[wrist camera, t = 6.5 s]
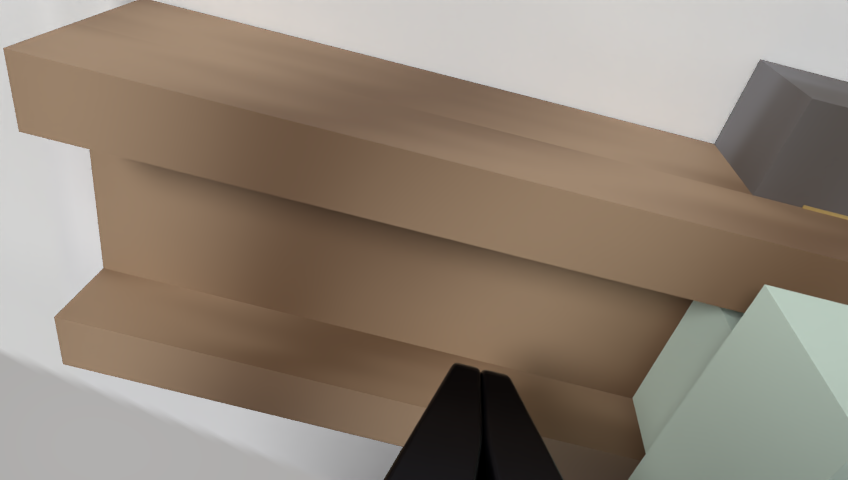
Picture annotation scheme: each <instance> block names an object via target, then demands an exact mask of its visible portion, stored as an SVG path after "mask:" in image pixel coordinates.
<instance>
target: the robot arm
mask: <svg viewBox="0 0 848 480" xmlns="http://www.w3.org/2000/svg"><path fill="white" fill-rule="evenodd" d="M384 480H564V479H563V477H562V476H561V474H560V472H559V470H558V468H557V466H556V464H555V462H554V460H553V458H552V456H551V454H550V453H549V451H548V449H547V447H546V445H545V443H544V441H543V439H542V437H541V435H540V433H539V432H538V430H537V428H536V426H535V424H534V422H533V420H532V418H531V416H530V414H529V412H528V411H527V409H526V407H525V405H524V403H523V401H522V399H521V397H520V395H519V393H518V391H517V389H516V388H515V386H514V384H513V382H512V380H511V378H510V377H509V376H508V375H506V374H502V373H498V372H494V371H490V370H482V371H481V372H480V370H479V369H478V368H477V367H473V366H469V365H465V364H461V363H454V364H453V365H452V366H451V368H450V369H449V371H448V373H447V374H446V376H445V378H444V379H443V381H442V383H441V384H440V386H439V388H438V389H437V391H436V393H435V394H434V396H433V398H432V399H431V401H430V403H429V404H428V406H427V408H426V410H425V411H424V413H423V415H422V416H421V418H420V420H419V421H418V423H417V425H416V426H415V428H414V430H413V431H412V433H411V435H410V436H409V438H408V440H407V441H406V443H405V445H404V446H403V448H402V450H401V451H400V453H399V455H398V456H397V458H396V460H395V462H394V463H393V465H392V467H391V468H390V470H389V472H388V473H387V475H386V477H385V478H384Z"/></svg>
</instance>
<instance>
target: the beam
mask: <svg viewBox="0 0 848 480" xmlns="http://www.w3.org/2000/svg"><path fill="white" fill-rule="evenodd" d="M3 49H4V55H5V60H6V65H7V70H8V76H9V81H10V86H11V92H12V97H13V102H14V107H15V113H16V118H17V123H18V129H19V132H23V133H27V134H31V135H35V136H39V137H43V138H47V139H51V140H55V141H59V142H63V143H67V144H71V145H75V146H79V147H83V148H87V149H90V157H91V166H92V174H93V183H94V191H95V199H96V208H97V216H98V225H99V233H100V242H101V250H102V259H103V267H104V268H103V269H102V270H101V271H100V272H99V273H98V274H97V275H96V276H95V277H94V278H93V279H92V280H91V281H90V282H89V283H88V284H87V285H86V286H85V287H84V288H83V289H82V290H81V291H80V292H79V293H78V294H77V295H76V296H75V297H74V298H73V299H72V300H71V301H70V302H69V303H68V304H67V305H66V306H65V307H64V308H63V309H62V310H61V311H60V312H59V313H58V314H57V315H56V316H55V317H54V319H55V324H56V329H57V334H58V340H59V345H60V350H61V356H62V361H63V364H65V365H69V366H73V367H78V368H82V369H86V370H90V371H94V372H98V373H102V374H106V375H110V376H115V377H119V378H123V379H127V380H131V381H135V382H139V383H143V384H147V385H152V386H156V387H160V388H164V389H168V390H172V391H176V392H180V393H184V394H189V395H193V396H197V397H201V398H205V399H209V400H213V401H217V402H221V403H225V404H230V405H234V406H238V407H242V408H246V409H250V410H254V411H258V412H262V413H267V414H271V415H275V416H279V417H283V418H287V419H291V420H295V421H299V422H304V423H308V424H312V425H316V426H320V427H324V428H328V429H332V430H336V431H341V432H345V433H349V434H353V435H357V436H361V437H365V438H369V439H373V440H378V441H382V442H386V443H390V444H394V445H398V446H402V447H403V446H404V445H405V443H406V441H407V440H408V438H409V436H410V435H411V433H412V431H413V430H414V428H415V426H416V425H417V423H418V421H419V420H420V418H421V416H422V415H423V413H424V411H425V410H426V408H427V406H428V404H429V403H430V401H431V399H432V398H433V396H434V394H435V393H436V391H437V389H438V388H439V386H440V384H441V383H442V381H443V379H444V378H445V376H446V374H447V373H448V371H449V369H450V368H451V366H452V365H453V364H454V363H461V364H465V365H469V366H473V367H477V368H478V369H479V370H480V372H481V371H482V370H490V371H494V372H498V373H502V374H506V375H508V376H509V377H510V378H511V380H512V382H513V384H514V386H515V388H516V389H517V391H518V393H519V395H520V397H521V399H522V401H523V403H524V405H525V407H526V409H527V411H528V412H529V414H530V416H531V418H532V420H533V422H534V424H535V426H536V428H537V430H538V432H539V433H540V435H541V437H542V439H543V441H544V443H545V445H546V447H547V449H548V451H549V453H550V454H551V456H552V458H553V460H554V462H555V464H556V466H557V468H558V470H559V472H560V474H561V476H562V477H563V479H564V480H628V479H629V477H630V476H631V475H632V473H633V472H634V470H635V469H636V467H637V466H638V465H639V463H640V462H641V460H642V459H643V457H644V456H645V455H646V453H645V449H644V444H643V440H642V436H641V432H640V428H639V423H638V419H637V415H636V411H635V407H634V402H633V396H634V395H635V393H636V392H637V390H638V388H639V387H640V385H641V384H642V382H643V380H644V379H645V377H646V376H647V374H648V372H649V371H650V369H651V368H652V366H653V364H654V363H655V361H656V360H657V358H658V356H659V355H660V353H661V351H662V350H663V348H664V347H665V345H666V343H667V342H668V340H669V339H670V337H671V335H672V334H673V332H674V331H675V329H676V327H677V326H678V324H679V323H680V321H681V319H682V318H683V316H684V315H685V313H686V311H687V310H688V308H689V307H690V305H691V303H692V302H693V300H694V301H698V302H702V303H706V304H710V305H714V306H718V307H722V308H726V309H730V310H734V311H738V312H742V313H745V312H746V310H747V309H748V308H749V306H750V305H751V303H752V302H753V300H754V299H755V298H756V296H757V295H758V293H759V292H760V290H761V289H762V288H763V286H764V285H769V286H773V287H777V288H781V289H785V290H789V291H793V292H797V293H801V294H805V295H809V296H813V297H817V298H821V299H825V300H829V301H833V302H837V303H841V304H845V305H848V82H845V81H841V80H837V79H834V78H830V77H826V76H822V75H818V74H814V73H810V72H807V71H803V70H799V69H795V68H791V67H787V66H783V65H779V64H776V63H772V62H768V61H764V60H760V61H759V63H758V65H757V67H756V68H755V70H754V72H753V74H752V76H751V78H750V79H749V81H748V83H747V85H746V87H745V89H744V90H743V92H742V94H741V96H740V98H739V100H738V102H737V103H736V105H735V107H734V109H733V111H732V113H731V114H730V116H729V118H728V120H727V122H726V124H725V125H724V127H723V129H722V131H721V133H720V135H719V137H718V138H717V140H716V142H715V144H712V143H708V142H704V141H700V140H696V139H692V138H688V137H684V136H680V135H676V134H672V133H668V132H665V131H661V130H657V129H653V128H649V127H645V126H641V125H637V124H633V123H629V122H625V121H622V120H618V119H614V118H610V117H606V116H602V115H598V114H594V113H590V112H586V111H582V110H579V109H575V108H571V107H567V106H563V105H559V104H555V103H551V102H547V101H543V100H539V99H536V98H532V97H528V96H524V95H520V94H516V93H512V92H508V91H504V90H500V89H496V88H493V87H489V86H485V85H481V84H477V83H473V82H469V81H465V80H461V79H457V78H453V77H449V76H446V75H442V74H438V73H434V72H430V71H426V70H422V69H418V68H414V67H410V66H406V65H403V64H399V63H395V62H391V61H387V60H383V59H379V58H375V57H371V56H367V55H363V54H360V53H356V52H352V51H348V50H344V49H340V48H336V47H332V46H328V45H324V44H320V43H317V42H313V41H309V40H305V39H301V38H297V37H293V36H289V35H285V34H281V33H277V32H274V31H270V30H266V29H262V28H258V27H254V26H250V25H246V24H242V23H238V22H234V21H230V20H227V19H223V18H219V17H215V16H211V15H207V14H203V13H199V12H195V11H191V10H187V9H184V8H180V7H176V6H172V5H168V4H164V3H160V2H156V1H152V0H137V1H134V2H131V3H128V4H126V5H123V6H120V7H117V8H114V9H112V10H109V11H106V12H103V13H100V14H98V15H95V16H92V17H89V18H86V19H84V20H81V21H78V22H75V23H72V24H70V25H67V26H64V27H61V28H58V29H56V30H53V31H50V32H47V33H44V34H42V35H39V36H36V37H33V38H30V39H28V40H25V41H22V42H19V43H16V44H14V45H11V46H8V47H5V48H3Z"/></svg>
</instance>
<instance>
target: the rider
mask: <svg viewBox="0 0 848 480" xmlns="http://www.w3.org/2000/svg"><path fill="white" fill-rule="evenodd" d="M633 402H634V407H635V411H636V415H637V419H638V423H639V428H640V432H641V436H642V440H643V444H644V449H645V453H646V455H645V456H644V457H643V459H642V460H641V462H640V463H639V465H638V466H637V467H636V469H635V470H634V472H633V473H632V475H631V476H630V477H629V479H628V480H848V305H845V304H841V303H837V302H833V301H829V300H825V299H821V298H817V297H813V296H809V295H805V294H801V293H797V292H793V291H789V290H785V289H781V288H777V287H773V286H769V285H764V286H763V288H762V289H761V290H760V292H759V293H758V295H757V296H756V298H755V299H754V300H753V302H752V303H751V305H750V306H749V308H748V309H747V310H746V312H745V313H742V312H738V311H734V310H730V309H726V308H722V307H718V306H714V305H710V304H706V303H702V302H698V301H694V300H693V302H692V303H691V305H690V307H689V308H688V310H687V311H686V313H685V315H684V316H683V318H682V319H681V321H680V323H679V324H678V326H677V327H676V329H675V331H674V332H673V334H672V335H671V337H670V339H669V340H668V342H667V343H666V345H665V347H664V348H663V350H662V351H661V353H660V355H659V356H658V358H657V360H656V361H655V363H654V364H653V366H652V368H651V369H650V371H649V372H648V374H647V376H646V377H645V379H644V380H643V382H642V384H641V385H640V387H639V388H638V390H637V392H636V393H635V395H634V396H633Z"/></svg>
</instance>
